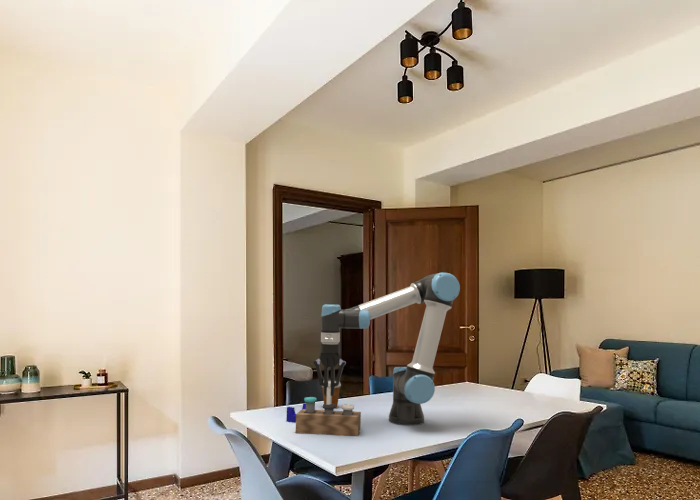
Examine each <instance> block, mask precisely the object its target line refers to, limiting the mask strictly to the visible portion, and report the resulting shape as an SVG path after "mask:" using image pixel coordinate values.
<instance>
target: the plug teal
mask: <svg viewBox="0 0 700 500" xmlns="http://www.w3.org/2000/svg"><path fill="white" fill-rule="evenodd" d="M303 399H304V403H306V413H313V414H315V410H316V402H318V401H317V397H315V396H309V397H307V396H306V397H304V398H303Z"/></svg>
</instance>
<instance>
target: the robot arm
mask: <svg viewBox="0 0 700 500" xmlns="http://www.w3.org/2000/svg"><path fill="white" fill-rule="evenodd" d="M460 291H461V285H460V283H459V280H458V278H457V277H456V276H455V275H454V274H451V273H448V272H439V273H438V272H437V273H432V274H429V275H427V276H425V277H423V278H422V279H421V278H420V279H419V280H417V281H415V282H412V283H410V286H407V287H404V288H402V289H398V290H397V291H394V292H391V293H389V294H386V295H383V296H380V297H377V298H375V299H372V300H370V301H367V302H363V303H360V304H358V305H356V306H353V307H350V308H346V309H342V308H341V305H340V304H327V303H325V304H323V305H322V307H321V314H320V318H321V319H320V321H321V322H320V327H321V328H320V343H321V344H320V355H319V357H318V358H317V359H315V360H314V361H313V365H314V366H315V369H316V373H317V379H318V383H319V385H320V386H321V387H322V386H324V395H326V396H327V403H326V405H330V404H331V399H332V396H333V395H334V387H335V386H338V385H339V382H340V383H341V379H342V375H343V374H342V373H343V370H344V367H345V366H346V364H347V362H346V361H345V360H343V359H342V358H341V354H340V350H341V349H340V341H341V338H340V337H341V329H355V330H357V329H361V330H362V329H363V330H364V329H369V327H370V324H371V320H374V319H376V318H379V317H381V316H384V315H386V314H389V313H393V312H395V311H397V310H400V309H403V308H405V307H409V306H412V305H413V304H418V305H420V304H424V303H425V305H426V307H425V310H424V314H423V318H422V321H421V324H420V329H419V334H418V337H417V341H416V345H415V349H414V353H413V356H412V361H411V362H410V363H409V364H407V365H406V366H395V367H394V368H393V372H392V393H393V394H392V404H391V408H390V412H389V413H388V422H390V423H392V424H396V425H401V426H416V425H417V426H418V425H422V424H424V423H425V415H424V412H423V409H422V405H423V404H425V403H428V402H430V400H432V398H434V394H435V391H436V386H435V383H434V379H435V375H436V372H435V370H434V363H435V358H436V356H437V351H438V346H439V345H440V344H439V343H440V340H441V334H442V331H443V327H444V323H445V321H446V320H445V319H446V315H447V312H448V311H449V310H451V309H452V308H453V303H454V300H455V299H456V298H457V297H458V296H459V294H460ZM321 364H322V366H323V367H324V368H323V370H324V371H323V373H322V368H321ZM338 364H339V367H338V368H339V369H338V371H337V376H335V375H336V371H335V370H336V366H337V365H338ZM329 368H330V381H331V386H330V387H328V381H329ZM323 375H324V376H323ZM335 377H336V379H335ZM323 381H324V382H323ZM335 381H336V383H335Z"/></svg>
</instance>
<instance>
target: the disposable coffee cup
mask: <svg viewBox="0 0 700 500" xmlns="http://www.w3.org/2000/svg"><path fill="white" fill-rule="evenodd" d="M323 382H324V380H323ZM335 383H336V380H335ZM330 386H331V380H328V387H330ZM341 386H342V384H341V381H340V382H339V385H338V386H335V387H334V395H333V396H332V399H331V404H335V408H334V409H338V404H339V395H340V389H341ZM321 388H322V398H323V399H322V400H323V404H326V403H327V396H326V395H324V386H322V385H321Z"/></svg>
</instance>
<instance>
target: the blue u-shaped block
mask: <svg viewBox="0 0 700 500" xmlns="http://www.w3.org/2000/svg"><path fill="white" fill-rule="evenodd" d="M302 409H306V402H303V403H302V407H301V410H302ZM296 414H297V413H296V409H295V407H294V406H287V407H286V422H288V423H294V424H296Z"/></svg>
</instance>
